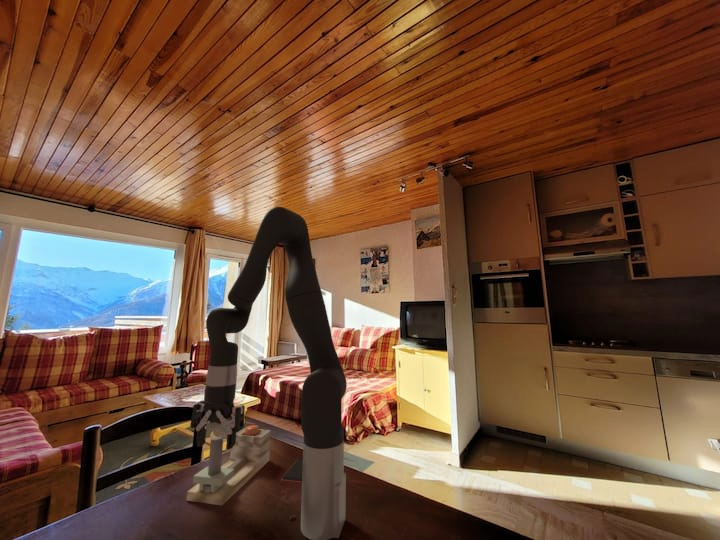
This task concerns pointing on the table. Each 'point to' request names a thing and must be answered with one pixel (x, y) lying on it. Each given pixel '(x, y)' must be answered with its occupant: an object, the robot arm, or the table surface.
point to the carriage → (214, 468)
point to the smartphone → (294, 472)
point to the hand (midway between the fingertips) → (215, 446)
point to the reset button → (251, 430)
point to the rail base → (225, 487)
